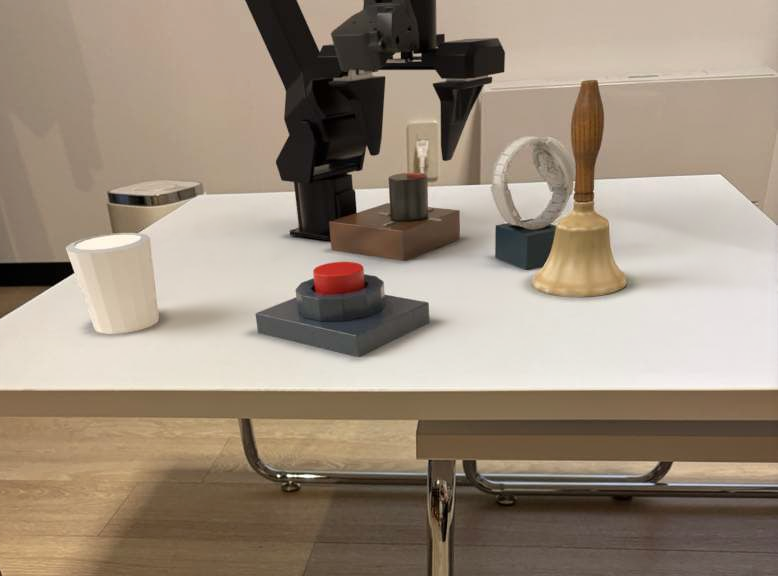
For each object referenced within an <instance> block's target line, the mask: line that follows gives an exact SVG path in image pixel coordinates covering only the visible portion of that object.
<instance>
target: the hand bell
mask: <svg viewBox="0 0 778 576" xmlns="http://www.w3.org/2000/svg"><path fill="white" fill-rule="evenodd" d="M604 128H605V112H604V105H603V100H602V98H601V92H600V87H599V82H598V80H597V79H589V80H587V79H586V80H582V81H581V83H580V87H579V92H578V95H577V98H576V101H575V104H574V107H573V109H572V115H571V124H570V142H571V149H572V154H573V159H574V163H575V166H576V175H575V181H574V186H573V200H574V201H573V207H572V211H571V212H570V213H569V214H566V216H564V217H561V218H560V219H559V220H557V222H556V225H555V226H556V230H555V236H554V241H553V245H552V249H551V252H550V255H549V257H548V259H547V261H546V263H545V264H544V266H542V267H541V269H539V271H537V272H536V273H535V274H534V275H533V278H532V280H531V286H532V287H533V288H534V289H535V290H536V291H538V292H540V293H543V294H546V295H551V296H555V297H556V296H557V297H563V298H590V297H591V298H592V297H599V296H606V295H610V294H613V293H616V292H619V291H620V290H622V289H624V288H625V287H626V286H627V284H628V279H627V277H626V274H625V273H624V271H623V270H622V269H620V268H619V266H618V264H617V263H616V261H615V258H614V255H613V250H612V246H611V235H610V222H609V219H608V218H607V217H605V216H603V215H601V214H599V213H598V212H596V210H595V192H594V191H595V169H596V162H597V159H598V156H599V153H600V150H601V147H602V142H603V138H604V137H603V136H604V130H605V129H604Z"/></svg>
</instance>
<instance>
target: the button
mask: <svg viewBox="0 0 778 576" xmlns="http://www.w3.org/2000/svg"><path fill="white" fill-rule="evenodd" d="M312 274H313V278H314V285H315V292H316V293H322V294H345V293H351V292H357V291H359V290H362V289H364V288H365V282H364V274H365V270H364V266H363V264H362V263H358V262H353V261H335V262H328V263H324V264H321V265H318V266H316V267H315V268H314V269H313V270H312Z"/></svg>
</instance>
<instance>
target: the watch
mask: <svg viewBox="0 0 778 576" xmlns="http://www.w3.org/2000/svg"><path fill="white" fill-rule="evenodd" d="M529 146H530V147H531V149H532V153H531V155H532V164H533V165H534V167H535V168H536V170H537V172H538V174H539V175H540V177H541V178H542V179H543V180H544V181H545V182H546V184H547V187H548V190H549V192H550V193H552V195H551V199H549V202H548V203H547V205H546V207H545V208H544V209H543V210H542V212H541V213H540V214H539V215H536V216H535V218H530V219H528V218H527V219H523V220H522V216H521V215H520V213H519V211H518V209H517V207H516V206H515V202H514V199H513V197H512V193H511V190H510V189H509V185H508V178H507V177H508V173H509V170H510V167H511V164H512V163H513V161H514V160H515V158H516V157H517V156H518V155H519V154H520V153H521V152H522V151H523V150H524V149H525V148H527V147H529ZM575 175H576V165H575V160H574V158H573V157H572V155H571V154H570V152H569V151H568V149H567V148H566V147H565V146H564V145H563V144H562V143H561V142H560V141H559V140H557V139H556V138H554V137H552V136H544V137H538V136H534V135H523V136H519V137H518V138H514V139H513V140H511V141H510V142H509V143H507V144H506V145H505V147H504V148H503V149H502V151H501V152H500V153H499V154H498V156H497V158H496V160H495V163H494V165H493V169H492V173H491V179H492V180H491V186H490V191H491V196H492V199H493V201H494V204H495V206H496V209H497V211H498V212H499V214H500V216H501V217H502V219H503V221H504V222H505V223H501V224H495V234H494V235H495V237H494V238H495V240H494V243H495V244H494V246H495V247H494V258H495V259H497V260H500V261H502V262H505V263H508V264H510V265H512V266H515V267H517V268H520V269H522V270H527V271H528V270H531V269H537V268H543V266H544V264H545V263H546V261H547V259H548V257H549V255H550V252H551V249H552V245H553V241H554V236H555V230H556V225H555V224H552V223H554V222H555V221H556V220H557V219H558V218H559V217H560V216H561V214H562V212H564V210H565V209H566V207H567V205H568V202H569V200H570V198H571V196H572V195H573V193H574V183H575Z"/></svg>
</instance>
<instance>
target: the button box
mask: <svg viewBox="0 0 778 576" xmlns="http://www.w3.org/2000/svg"><path fill="white" fill-rule="evenodd" d="M364 282H365V288H364V289H362V290H359V291H357V292H351V293H345V294H322V293H316V292H315V285H314V277H313V278H311V279H308V280H305V281H302V282H300V283H299V285H298V286H296V287H295V297H293V298H291V299H288V300H286V301H283V302H281V303H277V304H274V305H273V306H271V307H270V306H269V307H268V308H265V309H263V310H260V311H258V312H256V313H254V315H255V322H256V329H257V333H258V334H262V335H265V336H270V337H272V338H278V339H281V340H285V341H289V342H290V341H291V342H294V343H298V344H302V345H307V346H311V347H315V348H320V349H322V350H326V351H327V350H328V351H332V352H336V353H340V354H345V355H348V356H351V357H356V358H359V357H362V356H365V355H366V354H368V353H370V352H372V351H374V350H376V349H378V348H380V347H382V346H384V345H386V344H389V343H391V342H392V341H395V340H397V339H398V338H400V337H403V336H405V335H406V334H409V333H411V332H413V331H415V330H417V329H419V328H421V327H423V326H425V325H427V324H429V323H430V303H429V301H428V302H427V301H424V300H417V299H412V298H405V297H400V296H394V295H390V294H385V281H384V280H382V279H381V278H379V277H378V276H376V275H371V274H365V273H364Z"/></svg>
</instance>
